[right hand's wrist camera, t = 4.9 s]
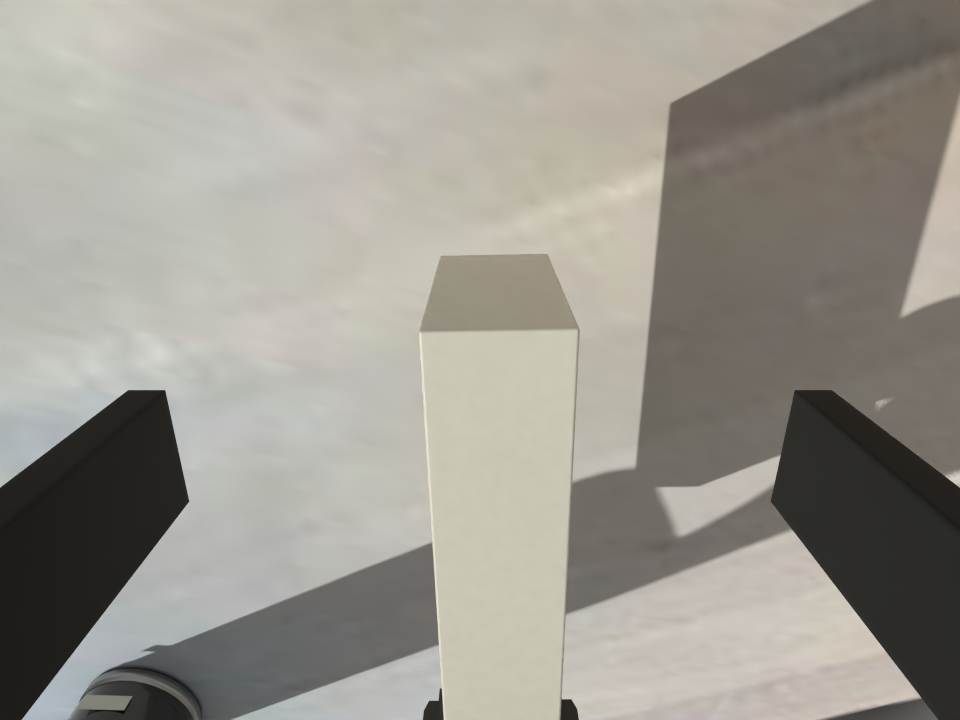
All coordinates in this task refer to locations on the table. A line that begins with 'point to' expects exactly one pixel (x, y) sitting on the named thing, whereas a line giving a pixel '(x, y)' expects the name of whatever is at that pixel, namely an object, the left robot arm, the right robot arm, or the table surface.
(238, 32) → the table surface
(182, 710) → the left robot arm
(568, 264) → the table surface
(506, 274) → the bar
